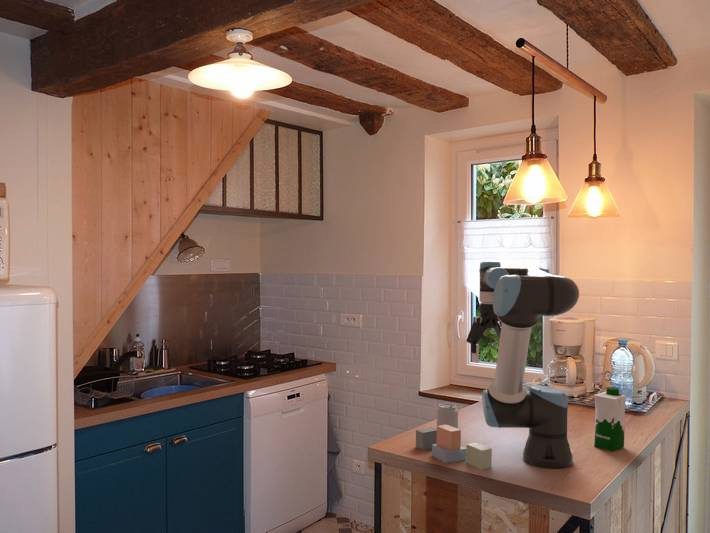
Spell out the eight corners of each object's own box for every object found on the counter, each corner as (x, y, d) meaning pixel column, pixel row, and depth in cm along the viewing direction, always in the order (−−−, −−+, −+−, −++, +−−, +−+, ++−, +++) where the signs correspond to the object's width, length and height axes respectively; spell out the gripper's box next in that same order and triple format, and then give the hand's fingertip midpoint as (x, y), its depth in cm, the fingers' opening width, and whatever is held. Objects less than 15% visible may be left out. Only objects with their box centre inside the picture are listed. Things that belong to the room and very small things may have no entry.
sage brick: (491, 467, 186) (491, 448, 186) (481, 469, 184) (482, 450, 184) (475, 460, 192) (476, 442, 192) (466, 463, 190) (466, 444, 190)
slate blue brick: (466, 461, 193) (466, 448, 193) (444, 464, 190) (444, 451, 190) (452, 453, 200) (452, 441, 200) (431, 456, 197) (431, 444, 197)
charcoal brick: (431, 444, 209) (432, 426, 209) (439, 447, 206) (439, 429, 206) (415, 447, 205) (415, 429, 205) (422, 450, 202) (423, 432, 202)
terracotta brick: (460, 448, 193) (460, 429, 193) (451, 450, 191) (451, 431, 191) (445, 442, 199) (446, 424, 199) (436, 444, 197) (436, 426, 197)
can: (457, 442, 211) (457, 408, 211) (435, 441, 212) (436, 407, 212) (458, 436, 218) (458, 403, 218) (437, 434, 220) (437, 402, 219)
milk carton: (627, 447, 206) (628, 389, 206) (614, 453, 200) (615, 393, 200) (603, 441, 213) (604, 385, 212) (590, 446, 207) (590, 388, 206)
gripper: (506, 301, 231) (506, 356, 232) (457, 303, 218) (456, 361, 219) (521, 302, 225) (520, 359, 225) (471, 305, 212) (470, 365, 213)
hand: (489, 360), depth 222 cm, fingers open, 13 cm apart
